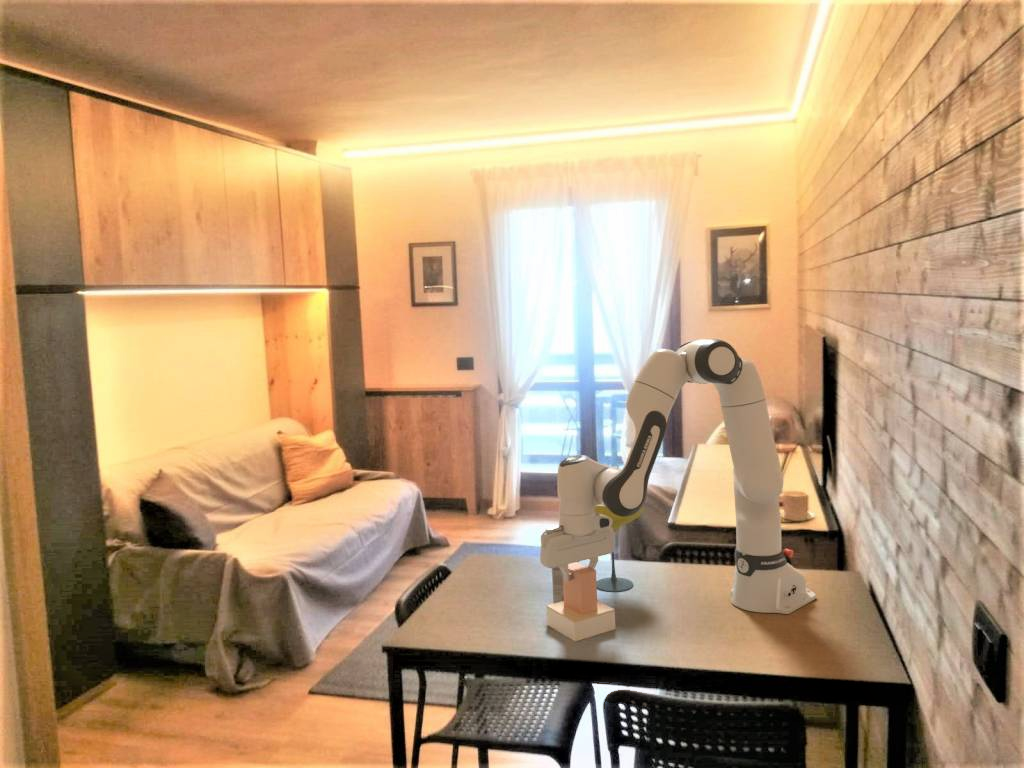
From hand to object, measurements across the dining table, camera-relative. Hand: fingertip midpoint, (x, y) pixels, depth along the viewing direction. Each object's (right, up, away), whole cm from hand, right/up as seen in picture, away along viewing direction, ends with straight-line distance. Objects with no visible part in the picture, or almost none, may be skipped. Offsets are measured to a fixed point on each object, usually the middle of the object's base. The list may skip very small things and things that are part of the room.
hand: (579, 577), depth 189 cm
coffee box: (-2, -11, +21) cm, 23 cm away
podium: (+1, -13, +1) cm, 13 cm away
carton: (0, -8, +1) cm, 8 cm away
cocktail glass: (+12, -10, +29) cm, 33 cm away
